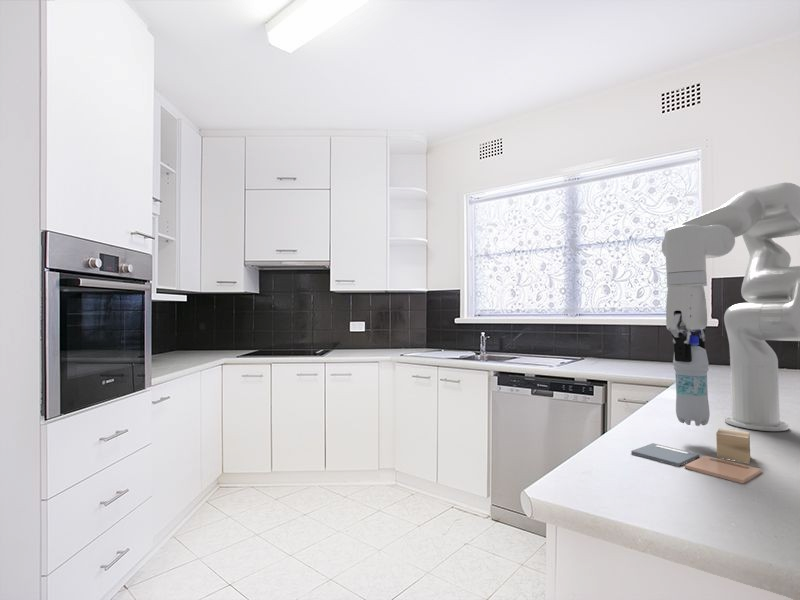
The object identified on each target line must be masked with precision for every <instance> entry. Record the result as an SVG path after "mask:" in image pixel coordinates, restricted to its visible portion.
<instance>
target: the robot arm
mask: <svg viewBox="0 0 800 600" xmlns="http://www.w3.org/2000/svg"><path fill="white" fill-rule="evenodd" d="M664 232H665V233H664V237H663V239H662V242H661V251H662V254H663V256H664V257H665V267H666V268H665V271H666V289H667V291H666V292H667V293H666V301H665V303H666V304H665V305H666V306H665V324H666V325H665V326H666V329H667V330H668V331H670V332H671V336H672V343H673V351H674V352H673V356H674V355H675V361H680V362H691V361H692V354H691V344H689V338H690V335H695V336H697V337H698V338H699V345H697V346H699V347H701V348H703V349H705V350H706V343H705V341H706V335H705V333H706V327H707V326H708V309H707V307H708V306H707V299H706V293H705V287H707V286H708V280H707V279H708V278H707V277H708V276H707V259H715V258H720V257H724V256H726V255H727V254H729V253H731V251H732V250H733V248H734V247H735V243H736V238H738V237H740V236H741V237H742V238H743V241H744V244H745V246H746V249H747V251H748V254H749V260H748V264H747V267H746V271H745V275H744V277H743V281H742V283H741V289H740V292H741V297H742V299H744V300H745V302H740V303H735V304H733V305H731V306H729V307H728V308H726V310H725V313H724V315H723V322H724V326H725V330H726V334H727V340H728V344H729V345H728V346H729V357H730V358H729V363H730V364H729V367H730V368H729V369H730V394H731V395H730V396H731V397H730V398H731V401H730V402H731V414H729V415H726V416H724V422H725V423H727V424H729V425H731V426H733V427H734V426H735V427H737V428H742V429H743V428H744V429H748V430H753V431H763V432H785V431H788V430H789V424H788V423H787V422H785V421H782V420H781V417H780V415H781V414H780V410H781V409H780V386H779V384H780V383H779V381H780V380H779V359H778V356H777V354H776V352H775V351H774V349H773V348H772V347H771V346H770V345H769V344H768V343H767V342H766V341H781V342H782V341H784V342H786V341H787V342H789V341H790V342H800V265H797V266H796V265H793V266H790V264H791V260H792V257H791V254H790V253H789V252H788V251H787V250H786V248H784V247H783V246H781V245H780V244H778V243H777V242H775V241H774V240H773V239H777V238H786V237H792V236H794V237H795V236H800V186H799V185H797V184H794V183H792V182H781V183H780V182H779V183H776V184H771V185H766V186H762V187H758V188H756V187H755V188H752V189H747V190H744V191H743V192H740V193H738V194H737V195H735V196H734V197H732V198H731V199H729V200H728V201H727V202H726V203H724V204H722V205H721V206H720V207H718V208H716V209H713V210H710V211H708V212H706V213H703V214H701V215H699V216H696V217H693V218H691V219H688V220H686V221H683V222H681V223H680V224H678V225H677V226H673V227H670V228H668V229H667V230H666V231H664ZM684 335H685V337H684Z"/></svg>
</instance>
